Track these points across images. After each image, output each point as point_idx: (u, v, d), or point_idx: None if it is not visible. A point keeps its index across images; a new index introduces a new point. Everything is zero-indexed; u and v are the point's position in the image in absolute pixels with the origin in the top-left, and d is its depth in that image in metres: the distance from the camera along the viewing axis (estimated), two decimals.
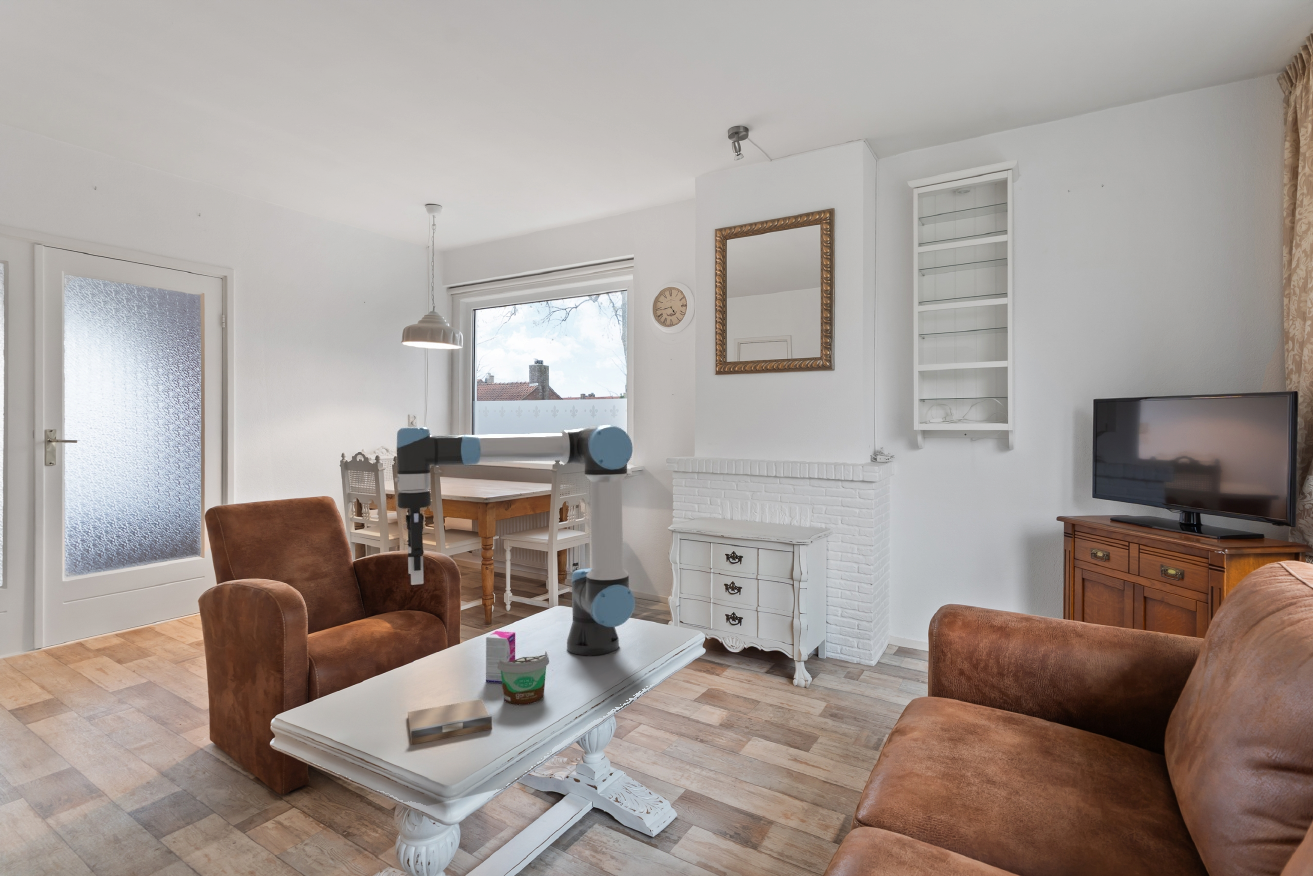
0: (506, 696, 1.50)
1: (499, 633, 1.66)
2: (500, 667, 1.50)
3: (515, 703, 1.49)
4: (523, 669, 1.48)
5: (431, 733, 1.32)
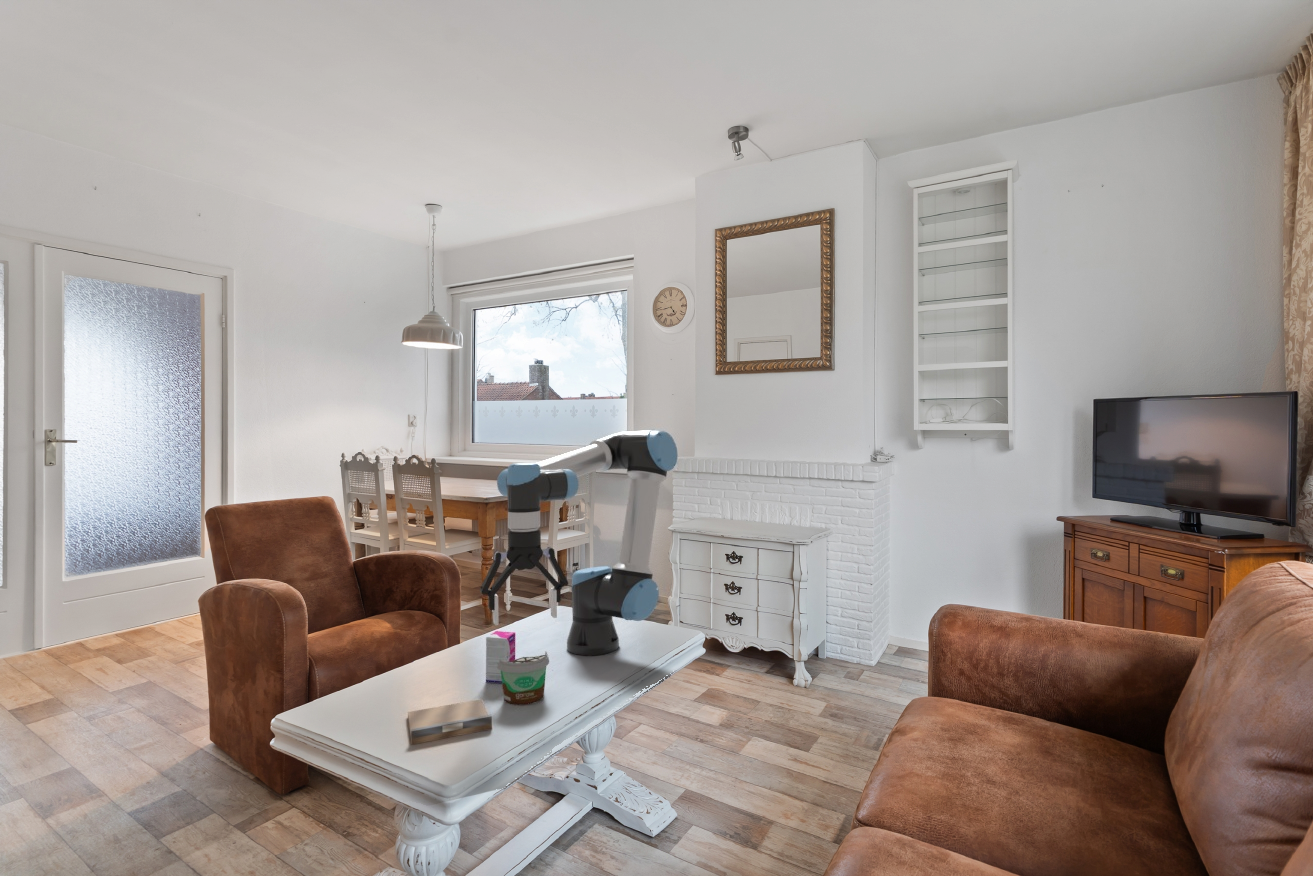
0: (506, 696, 1.50)
1: (499, 633, 1.66)
2: (500, 667, 1.50)
3: (515, 703, 1.49)
4: (523, 669, 1.48)
5: (431, 733, 1.32)
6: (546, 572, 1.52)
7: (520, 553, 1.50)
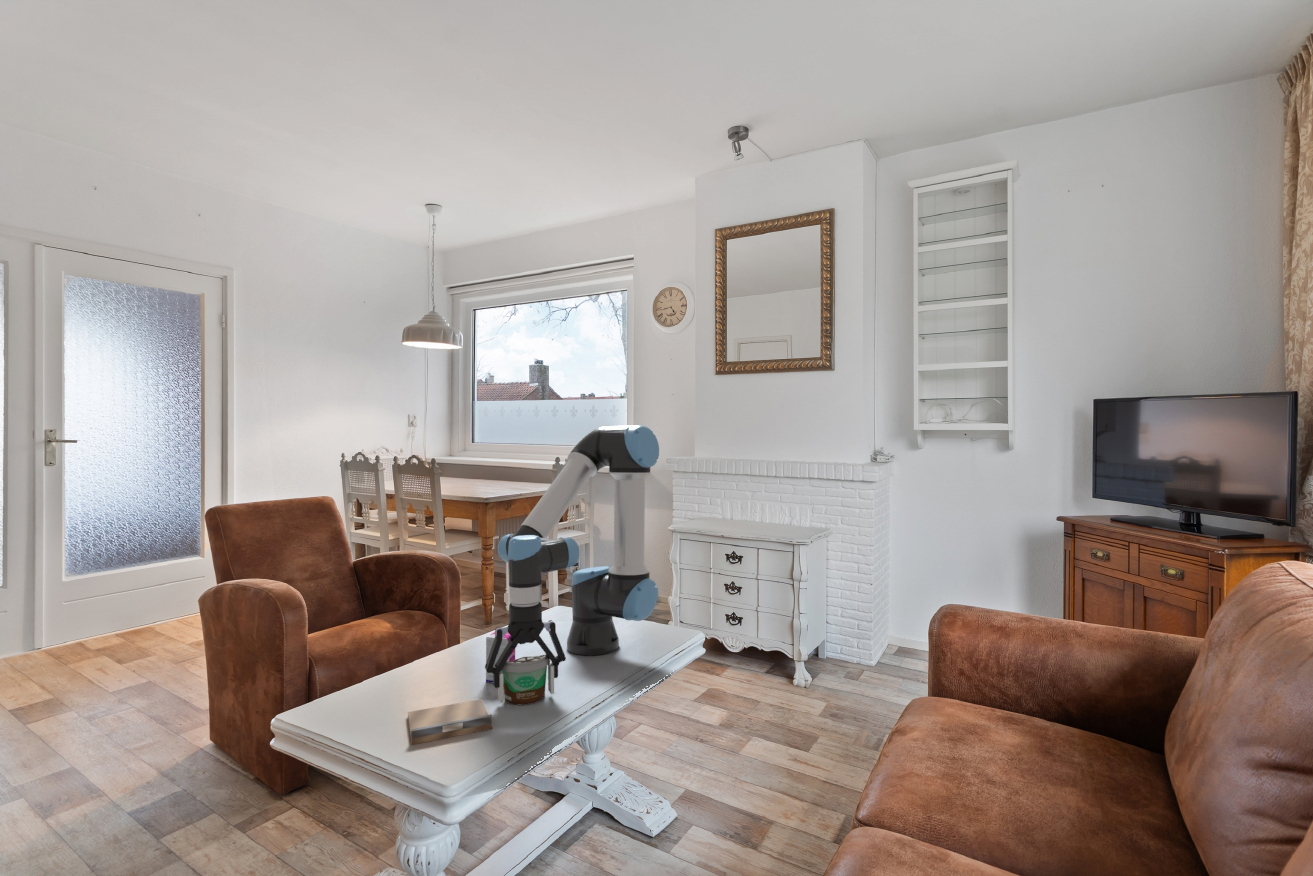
0: (507, 696, 1.50)
1: None
2: None
3: (516, 703, 1.49)
4: (524, 669, 1.48)
5: (431, 733, 1.32)
6: (546, 647, 1.52)
7: (521, 626, 1.50)
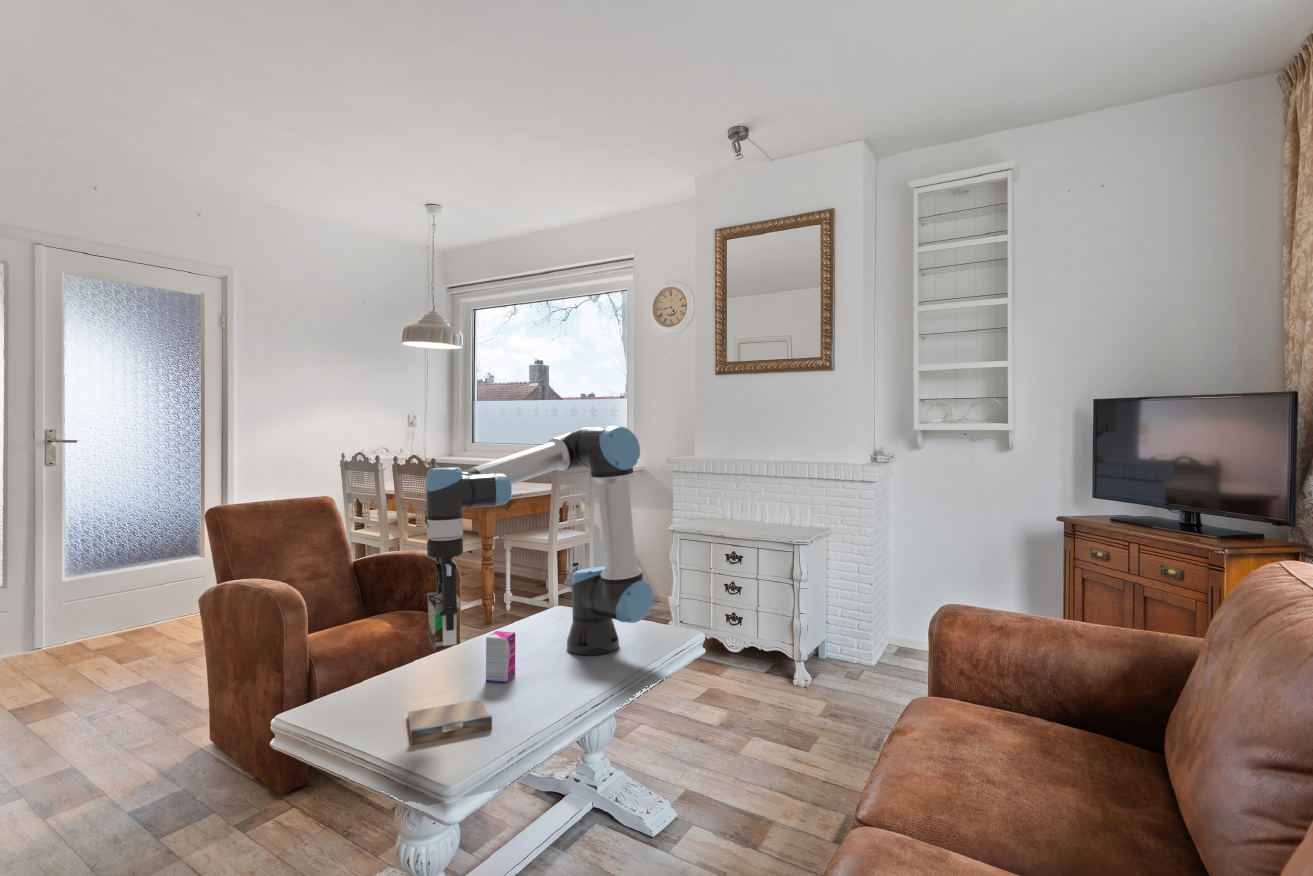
0: None
1: (499, 633, 1.66)
2: (442, 610, 1.37)
3: None
4: (459, 603, 1.43)
5: (431, 733, 1.32)
6: None
7: None
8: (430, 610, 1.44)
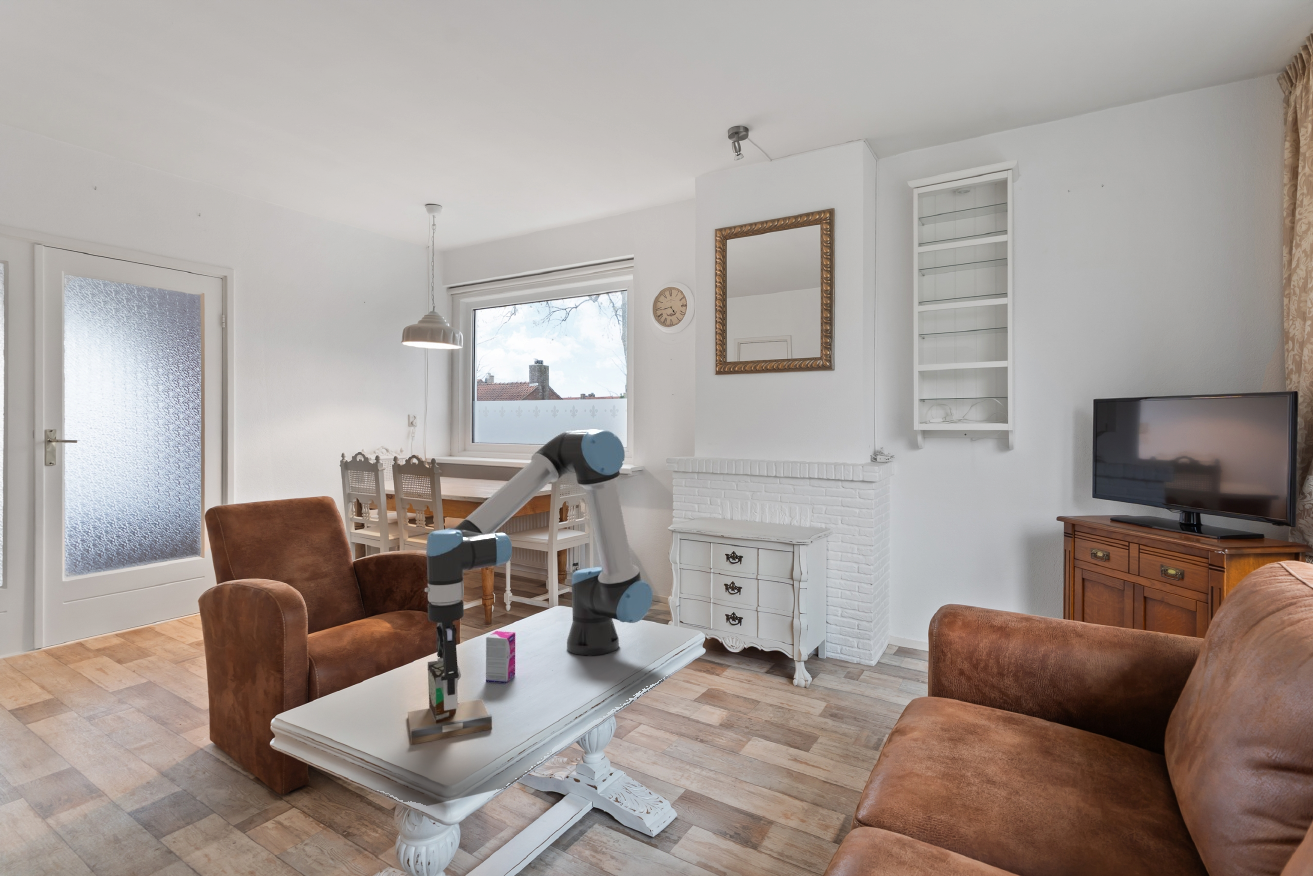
0: (443, 714, 1.38)
1: (499, 633, 1.66)
2: (443, 683, 1.37)
3: (452, 714, 1.41)
4: (459, 673, 1.43)
5: (431, 733, 1.32)
6: None
7: None
8: (430, 680, 1.44)
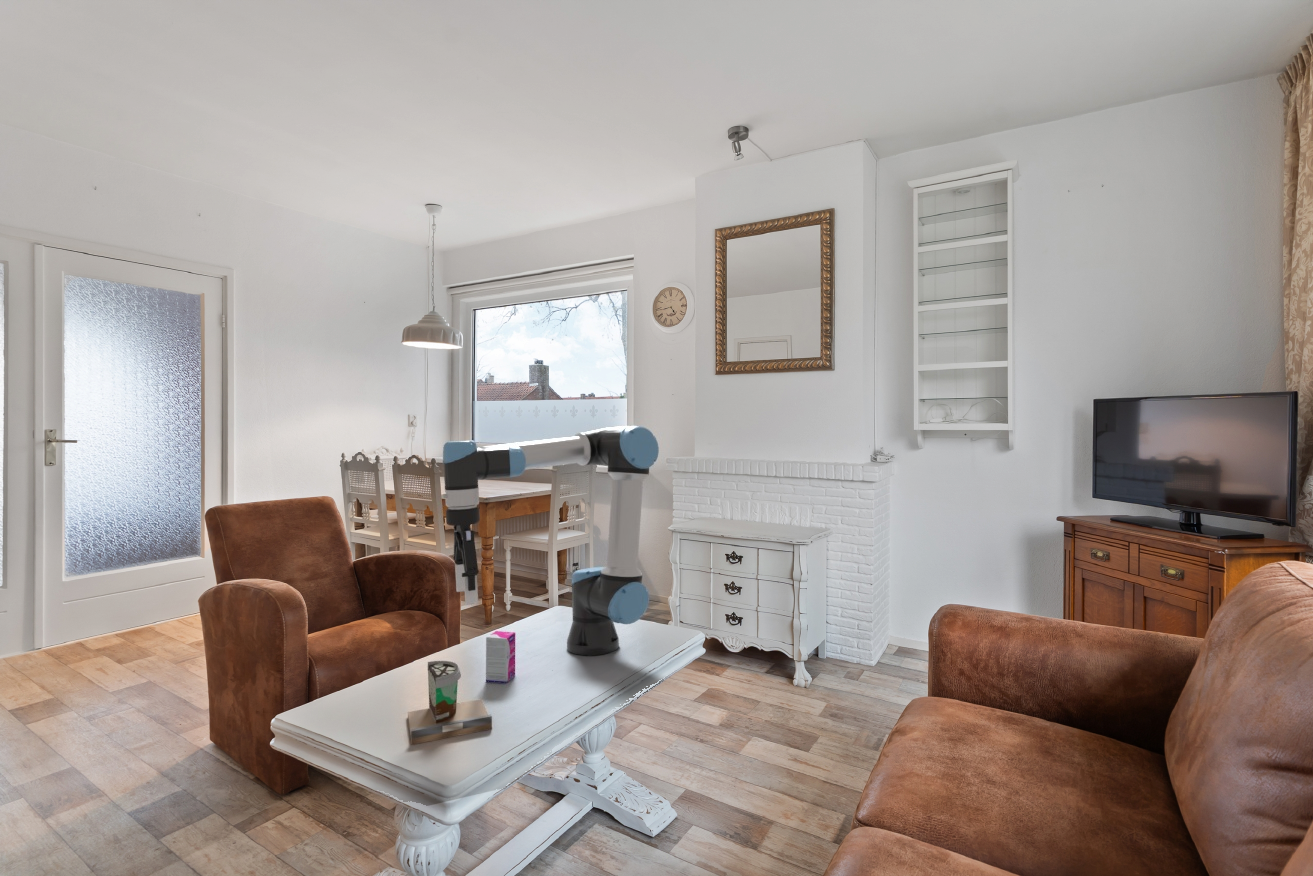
0: (443, 714, 1.38)
1: (499, 633, 1.66)
2: (443, 683, 1.37)
3: (452, 714, 1.41)
4: (459, 673, 1.43)
5: (431, 733, 1.32)
6: None
7: None
8: (430, 680, 1.44)
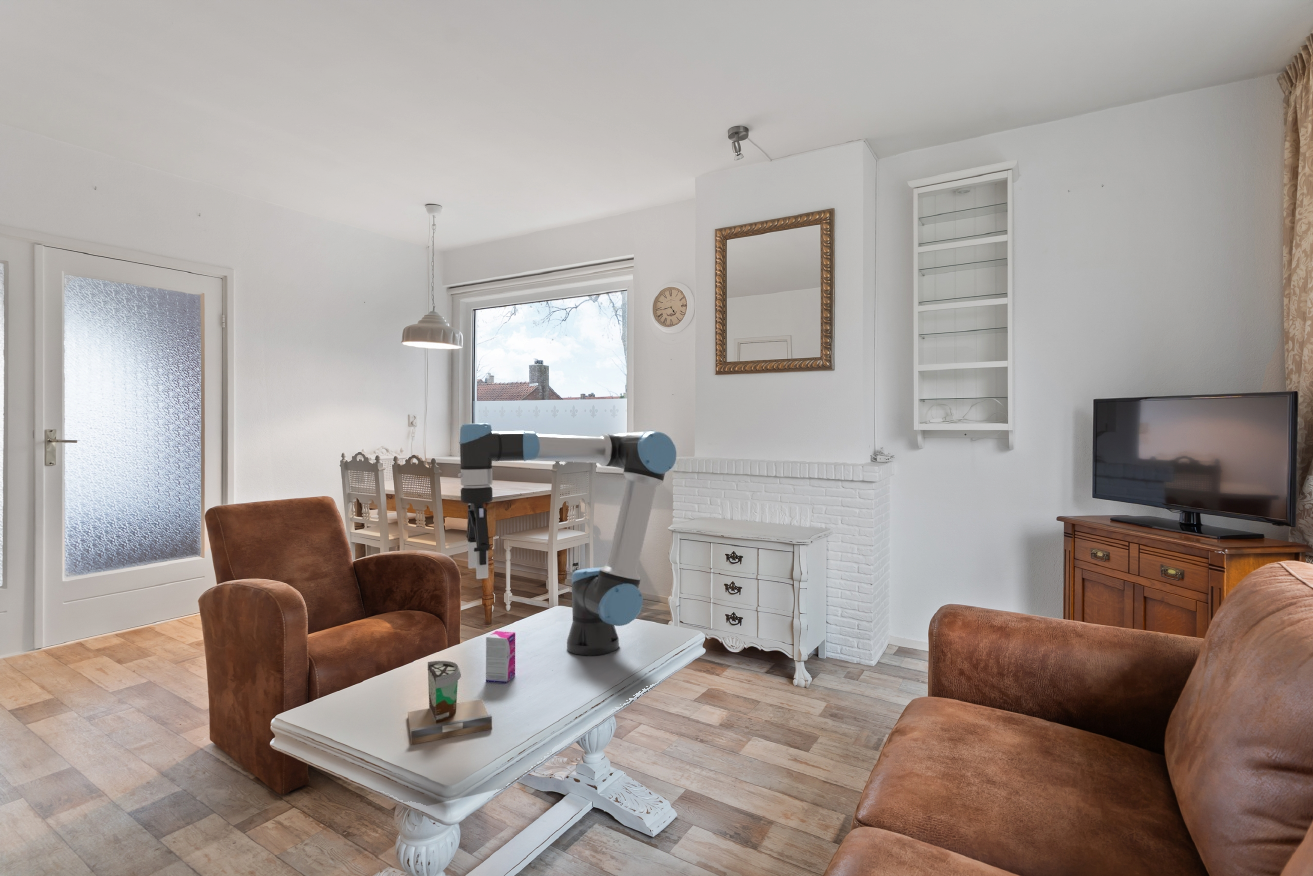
0: (443, 714, 1.38)
1: (499, 633, 1.66)
2: (443, 683, 1.37)
3: (452, 714, 1.41)
4: (459, 673, 1.43)
5: (431, 733, 1.32)
6: None
7: None
8: (430, 680, 1.44)
